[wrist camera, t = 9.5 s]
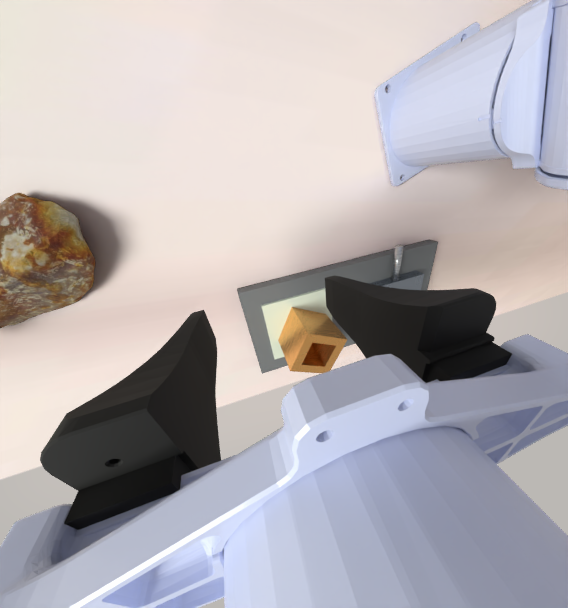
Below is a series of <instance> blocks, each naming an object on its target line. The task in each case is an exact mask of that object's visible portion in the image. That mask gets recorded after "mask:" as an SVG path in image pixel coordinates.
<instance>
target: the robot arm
mask: <svg viewBox="0 0 568 608" xmlns="http://www.w3.org/2000/svg"><path fill="white" fill-rule="evenodd" d="M461 38H462V42H461ZM386 87H387V88H388V91H387V93H386V91H385V88H386ZM375 101H376V107H377V112H378V117H379V122H380V128H381V133H382V138H383V143H384V148H385V154H386V159H387V164H388V169H389V175H390V180H391V184H392V185H393V186H398V185H400V184H402V183H403V182H405V181H406V180H408V179H409V178H411V177H413V176H414V175H416V174H417V173H419V172H420V171H422V170H423V169H425V168H427V167H428V166H430V165H439V164H450V163H461V162H472V161H483V160H493V159H504V158H511V160H512V164H513V169H523V168H535V174H534V175H535V178H536V180H537V181H538V182H539V183H540V184H542V185H544V186H547V187H551V188H555V189H563V190H568V0H532V1H530V2H528V3H527V4H525V5H523V6H522V7H520V8H518V9H516V10H515V11H513V12H511V13H510V14H508V15H506V16H505V17H503V18H501V19H499V20H498V21H496V22H494V23H493V24H491V25H489V26H487V27H486V28H484V29H482V30H481V31H480V25H479V23H478V22H475V23H473V24H472V25H470V26H469V27H467V28H466V29H464V30H463V31H461V32H460V33H458V34H457V35H455V36H454V37H452V38H451V39H449V40H448V41H446V42H445V43H443V44H441V45H440V46H438V47H437V48H435V49H434V50H432V51H431V52H429V53H428V54H426V55H425V56H423V57H422V58H420V59H419V60H417V61H416V62H414V63H413V64H411V65H410V66H408V67H407V68H405V69H404V70H402V71H401V72H399V73H398V74H396V75H395V76H393V77H392V78H390V79H389V80H387V81H386V82H384V83H383V84H381V85H380V86H378V87H377V88H376V90H375ZM401 176H402V178H401V180H400V177H401ZM325 292H326V307H327V308H328V310H329V312H330V313H331V315H332V316H333V318H334V319H335V320H336V322H337V323H338V324H339V325H340V326H341V327H342V329H343V330H344V331H345V332H346V333H347V334H348V335H349V336H350V338H351V339H352V340H353V341H354V342H355V343H356V345H357V346H358V347H359V348H360V350H361V351H362V353H363V354H364V356H365V357H366V359H363V360H360V361H357V362H354V363H352V364H349V365H346V366H343V367H340V368H337V369H334V370H331V371H328V372H325V373H322V374H319V375H316V376H313V377H310V378H307V379H306V380H304V381H302V382H300V383H298V384H296V385H295V386H293V388H292V389H291V390H290V391H289V392H288V393H287V395H286V396H285V397H284V398H283V401H282V407H281V413H282V416H283V420H284V426H283V427H282V428H280V429H278V430H277V431H275V432H273V433H271V434H270V435H268V436H267V437H265V438H264V439H262V440H260V441H258V442H257V443H255V444H253V445H252V446H250V447H248V448H247V449H245V450H244V451H242V452H241V453H239V454H237V455H234V456H232V457H229V458H226V459H224V460H221V457H220V448H219V438H218V426H217V414H216V398H215V385H216V366H217V346H216V338H215V336H214V333H213V331H212V328H211V326H210V324H209V321H208V319H207V316H206V314H205V312H204V310H202V311H198V312H194V313H192V314H191V315H190V316H189V317H188V318H187V320H186V321H185V322H184V323H183V325H182V326H181V327H180V328H179V329H178V331H177V332H176V333H175V334H174V335H173V336H172V337H171V338H170V340H169V341H168V342H167V343H166V344H165V345H164V346H163V347H162V348H161V349H160V350H159V351H158V352H157V353H156V354H155V355H153V356H152V357H151V358H150V359H149V360H148V361H147V362H145V363H144V364H143V365H142V366H140V367H139V368H138V369H136V370H135V371H134V372H133V373H131V374H130V375H129V376H127V377H126V378H124V379H123V380H122V381H120V382H119V383H117V384H116V385H114V386H113V387H111V388H110V389H108V390H106V391H105V392H103V393H102V394H100V395H98V396H97V397H95V398H93V399H92V400H90V401H88V402H86V403H85V404H83V405H81V406H79V407H78V408H76V409H74V410H72V411H71V412H69V413H67V414H66V416H65V417H64V419H63V420H62V422H61V423H60V425H59V426H58V428H57V429H56V431H55V433H54V434H53V436H52V437H51V439H50V440H49V442H48V443H47V445H46V446H45V448H44V449H43V451H42V452H41V458H40V461H41V463H42V465H43V467H44V469H45V470H46V471H47V472H49V473H50V474H51V475H52V476H54V477H56V478H58V479H59V480H61V481H63V482H64V483H66V484H68V485H69V486H71V487H73V488H74V489H76V490H78V494H77V496H76V498H75V500H74V502H73V504H62V505H58V506H54V507H52V508H49V509H46V510H43V511H41V512H38V513H35V514H33V515H30V516H27V517H24V518H22V519H19V520H18V521H16V522H15V523H14V525H13V526H12V528H11V530H10V531H9V533H8V535H7V536H6V538H5V540H4V541H3V543H2V545H1V546H0V608H199V607H201V606H204V605H207V604H209V603H212V602H214V601H217V600H219V599H222V598H224V601H225V608H568V536H567V535H566V534H565V533H564V532H563V531H562V530H561V529H560V528H559V527H558V526H557V525H556V524H555V523H554V522H553V521H552V520H551V519H550V518H549V517H548V516H547V515H546V513H545V512H544V511H542V510H541V508H540V507H539V506H538V505H536V503H534V501H532V500H531V498H530V497H528V496H527V494H526V493H525V492H524V491H523V490H522V489H521V488H519V486H518V485H516V483H515V482H514V481H513V480H511V478H510V477H509V476H508V475H507V474H506V473H505V472H504V471H503V470H502V469H501V468H499V466H497V464H498V463H500V462H502V461H504V460H505V459H507V458H509V457H511V456H512V455H514V454H516V453H517V452H519V451H521V450H522V449H524V448H526V447H528V446H530V445H531V444H533V443H535V442H537V441H539V440H540V439H542V438H544V437H546V436H548V435H550V434H552V433H554V432H556V431H558V430H560V429H562V428H564V427H566V426H568V353H566V352H564V351H562V350H560V349H558V348H555V347H554V346H552V345H549V344H547V343H545V342H543V341H541V340H539V339H537V338H535V337H533V336H531V335H529V334H527V335H522V336H520V337H517V338H514V339H512V340H509V341H507V342H505V343H503V344H502V345H501V346H498V345H496V344H494V343H493V342H492V341H494V337H493V336H491V335H490V334H488V333H486V331H487V329H488V327H489V325H490V322H491V320H492V318H493V316H494V313H495V310H496V301H495V299H494V297H493V296H492V295H490V294H488V293H486V292H483V291H481V290H478V289H474V288H471V289H456V290H409V289H398V288H390V287H383V286H378V285H373V284H369V283H364V282H360V281H356V280H353V279H349V278H345V277H341V276H330V277H326V278H325Z"/></svg>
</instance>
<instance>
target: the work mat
mask: <svg viewBox="0 0 568 608" xmlns="http://www.w3.org/2000/svg"><path fill="white" fill-rule="evenodd" d="M437 245H438V242H436V241H433V240H427V241H423V242H419V243H415V244H411V245H407V246H404V247H403V254H402V261H401V267H400V274H399V275H401V274H404V273H408V272H412V271H415V270H416V271H418V272H421V273H423V274H424V277H423V282H422V287H421V290H427V288H428V284H429V279H430V275H431V271H432V266H433V262H434V258H435V253H436V249H437ZM394 253H395V249H391V250H387V251H383V252H379V253H376V254H372V255H368V256H364V257H360V258H356V259H352V260H348V261H344V262H340V263H336V264H332V265H329V266H325V267H321V268H317V269H313V270H309V271H305V272H301V273H297V274H293V275H289V276H285V277H282V278H278V279H274V280H270V281H266V282H262V283H258V284H254V285H250V286H246V287H242V288H238V289H237V291H238V295H239V298H240V302H241V305H242V308H243V312H244V315H245V318H246V322H247V325H248V328H249V332H250V335H251V338H252V342H253V345H254V348H255V352H256V355H257V358H258V362H259V365H260V368H261V372H262V373H265V372H268V371H272V370H275V369H278V368H281V367H284V366H287V365H288V364H287V361H286V359H285V356H284V354H283V351H282V349H281V346H280V344H279V341H278V339H279V337H280V334H281V332H282V330H283V327H284V325H285V322H286V320H287V317H288V315H289V312H290V310H291V307H294V308H299V309H304V310H309V311H314V312H319V313H324V314H326V315H327V316H328V317H329V318H330V319H331V321H332V322H333V323H334V324H335V325H336V326H337V328H338V329H339V330H340V331H341V332H342V334H343V335H344V336H345V337H346V338H347V341H346V343H345V345H344V347H346V346H349V345H352V344H355V342H354V341H353V340H352V339H351V338H350V336H349V335H348V334H347V333H346V332H345V331H344V330H343V329H342V327H341V326H340V325H339V324H338V323H337V322H336V320H335V319H334V318H333V316H332V315H331V313H330V312H329V310H328V308H327V307H326V292H325V278H326V277H330V276H341V277H345V278H349V279H353V280H356V281H360V282H364V283H372V282H376V281H379V280H383V279H386V278H390V277H391V276H392V269H393V261H394Z"/></svg>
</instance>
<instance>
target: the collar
mask: <svg viewBox="0 0 568 608" xmlns="http://www.w3.org/2000/svg"><path fill="white" fill-rule="evenodd" d="M278 341H279V344H280V346H281V349H282V351H283V354H284V356H285V359H286V361H287V364H288V366H289V369H290V371H297V372H312V373H325V372H328V371H330V370H331V368H332V366H333V364H334V363H335V361H336V359H337V357H338V356H339V354H340V352H341V350H342V348H343V347H344V345H345V343H346V341H347V338H346V337H345V336H344V335H343V334H342V332H341V331H340V330H339V329H338V328H337V326H336V325H335V324H334V323H333V322H332V321H331V319H330V318H329V317H328V316H327V315H326V314H324V313H319V312H314V311H309V310H304V309H299V308H294V307H291V310H290V312H289V315H288V317H287V320H286V322H285V325H284V327H283V330H282V332H281V334H280V337H279V339H278Z"/></svg>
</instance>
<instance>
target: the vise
mask: <svg viewBox="0 0 568 608" xmlns="http://www.w3.org/2000/svg"><path fill="white" fill-rule="evenodd" d="M403 247H404V246H403V245H396V246H395V253H394V261H393V269H392V276H391V277H390V278H386V279H383V280H379V281H376V282H372V283H369V284H373V285H378V286H383V287H390V288H398V289H409V290H421V287H422V282H423V277H424V274H423V273H421V272H418V271H416V270H415V271H412V272H408V273H404V274H401V275H399V274H400V267H401V261H402V254H403Z"/></svg>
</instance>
